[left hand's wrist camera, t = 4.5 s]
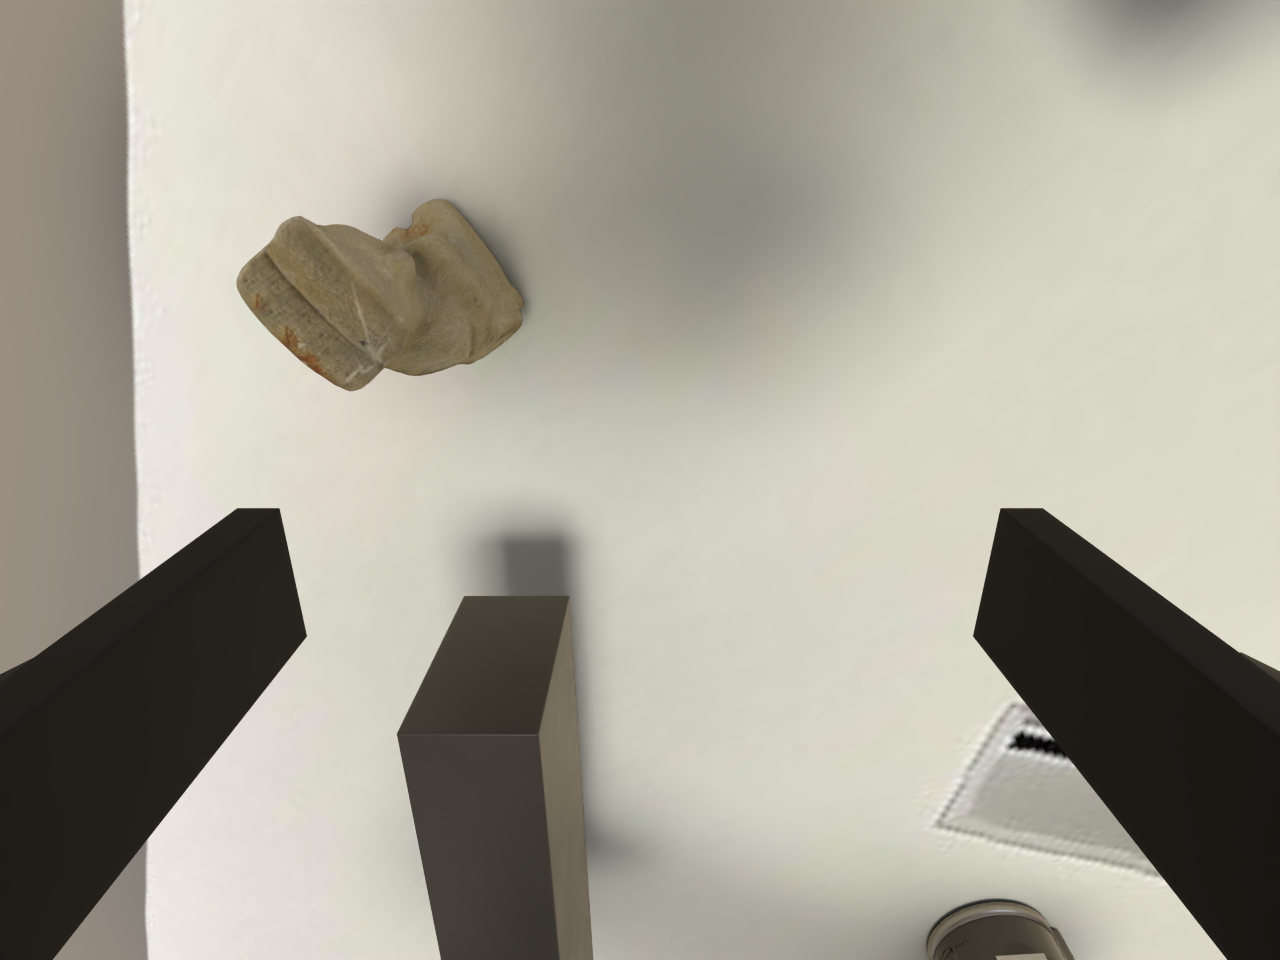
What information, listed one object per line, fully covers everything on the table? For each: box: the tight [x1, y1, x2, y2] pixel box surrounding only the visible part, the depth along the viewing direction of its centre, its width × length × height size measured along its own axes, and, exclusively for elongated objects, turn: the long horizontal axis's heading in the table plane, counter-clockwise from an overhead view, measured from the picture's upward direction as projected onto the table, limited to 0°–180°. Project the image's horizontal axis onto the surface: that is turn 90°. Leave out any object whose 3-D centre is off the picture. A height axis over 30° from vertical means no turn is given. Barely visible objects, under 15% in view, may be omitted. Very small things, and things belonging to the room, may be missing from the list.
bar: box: [397, 596, 593, 960], centre depth 34 cm, size 28×5×9 cm, turn 1°
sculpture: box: [237, 199, 524, 391], centre depth 28 cm, size 6×7×15 cm
